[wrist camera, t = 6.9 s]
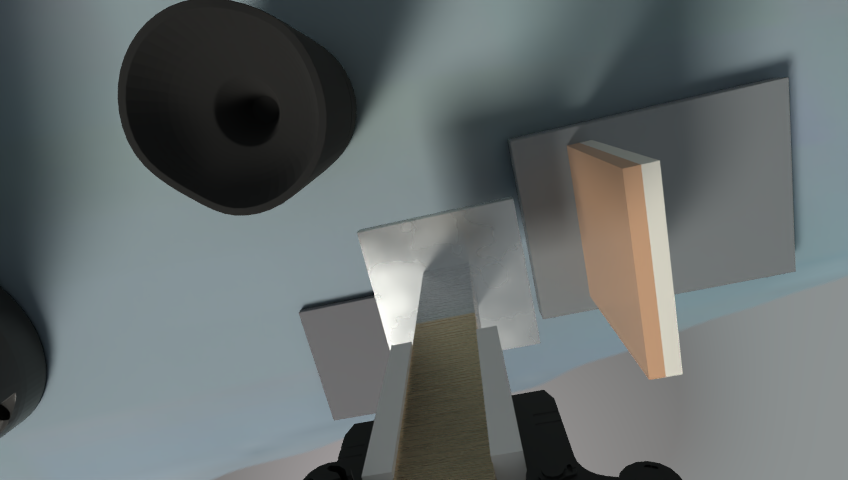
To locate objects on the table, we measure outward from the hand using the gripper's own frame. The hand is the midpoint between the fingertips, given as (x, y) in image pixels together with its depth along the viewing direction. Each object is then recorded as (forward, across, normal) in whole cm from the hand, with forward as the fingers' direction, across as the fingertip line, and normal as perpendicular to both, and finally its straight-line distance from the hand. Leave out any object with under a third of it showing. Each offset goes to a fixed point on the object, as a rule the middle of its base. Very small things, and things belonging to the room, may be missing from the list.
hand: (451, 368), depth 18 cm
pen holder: (+16, -8, +11) cm, 21 cm away
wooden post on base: (+9, 0, 0) cm, 9 cm away
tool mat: (+16, -6, -7) cm, 18 cm away
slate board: (+16, +13, 0) cm, 21 cm away
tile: (+15, +9, 0) cm, 17 cm away
